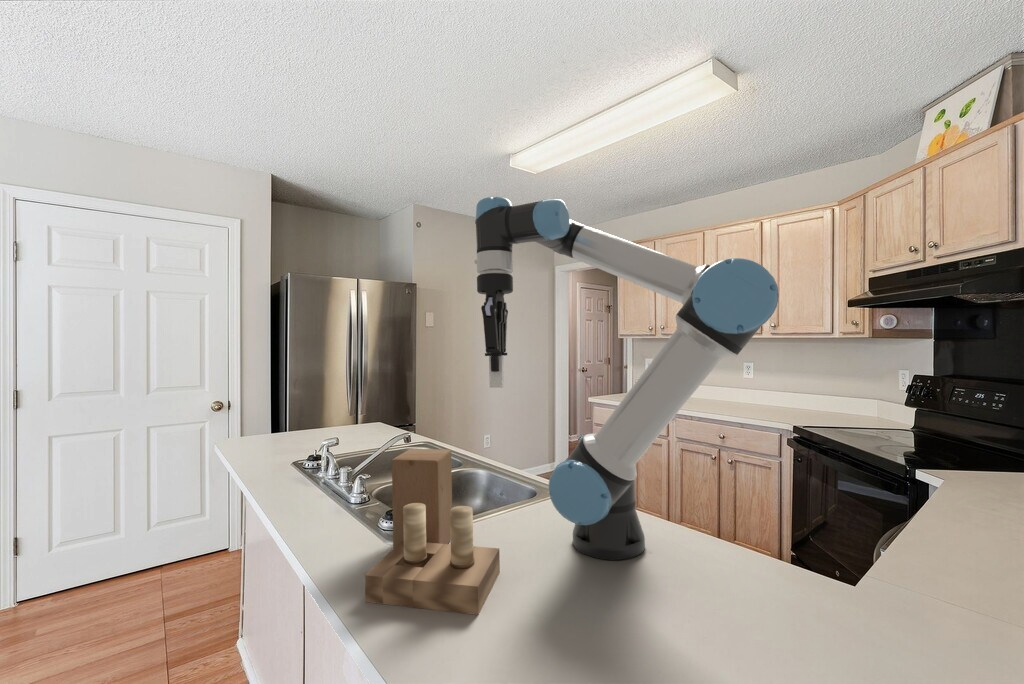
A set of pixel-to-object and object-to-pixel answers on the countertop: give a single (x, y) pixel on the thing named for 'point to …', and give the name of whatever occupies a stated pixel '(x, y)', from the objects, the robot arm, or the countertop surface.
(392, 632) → the countertop surface
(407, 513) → the peg
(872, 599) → the countertop surface
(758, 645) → the countertop surface
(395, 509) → the wooden block
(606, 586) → the countertop surface
